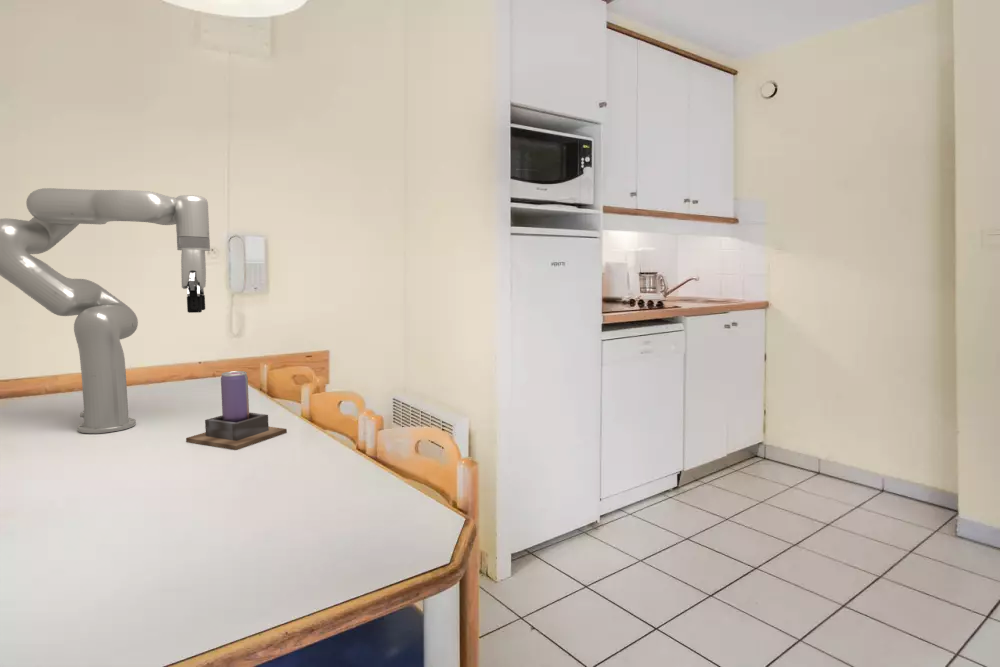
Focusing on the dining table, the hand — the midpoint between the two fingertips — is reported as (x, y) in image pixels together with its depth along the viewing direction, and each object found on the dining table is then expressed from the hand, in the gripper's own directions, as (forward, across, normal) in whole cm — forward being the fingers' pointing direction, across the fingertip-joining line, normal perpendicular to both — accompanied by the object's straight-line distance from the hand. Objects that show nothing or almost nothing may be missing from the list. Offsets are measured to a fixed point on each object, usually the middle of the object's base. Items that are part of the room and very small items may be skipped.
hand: (196, 311), depth 154 cm
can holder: (+30, +16, +9) cm, 36 cm away
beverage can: (+29, +16, +9) cm, 35 cm away
